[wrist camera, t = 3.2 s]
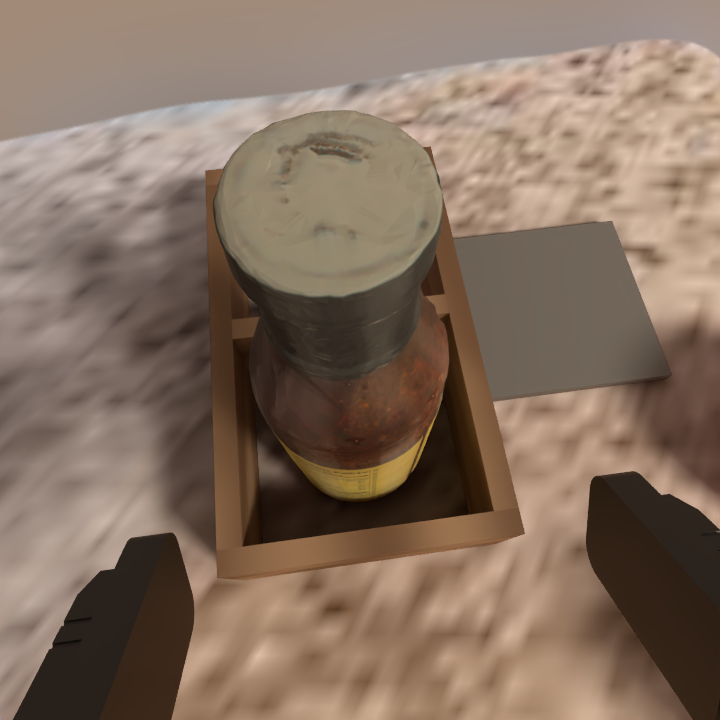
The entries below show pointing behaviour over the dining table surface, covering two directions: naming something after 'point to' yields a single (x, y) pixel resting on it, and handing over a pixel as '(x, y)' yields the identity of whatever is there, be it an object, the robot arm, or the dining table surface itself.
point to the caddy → (256, 560)
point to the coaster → (557, 311)
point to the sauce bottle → (339, 293)
